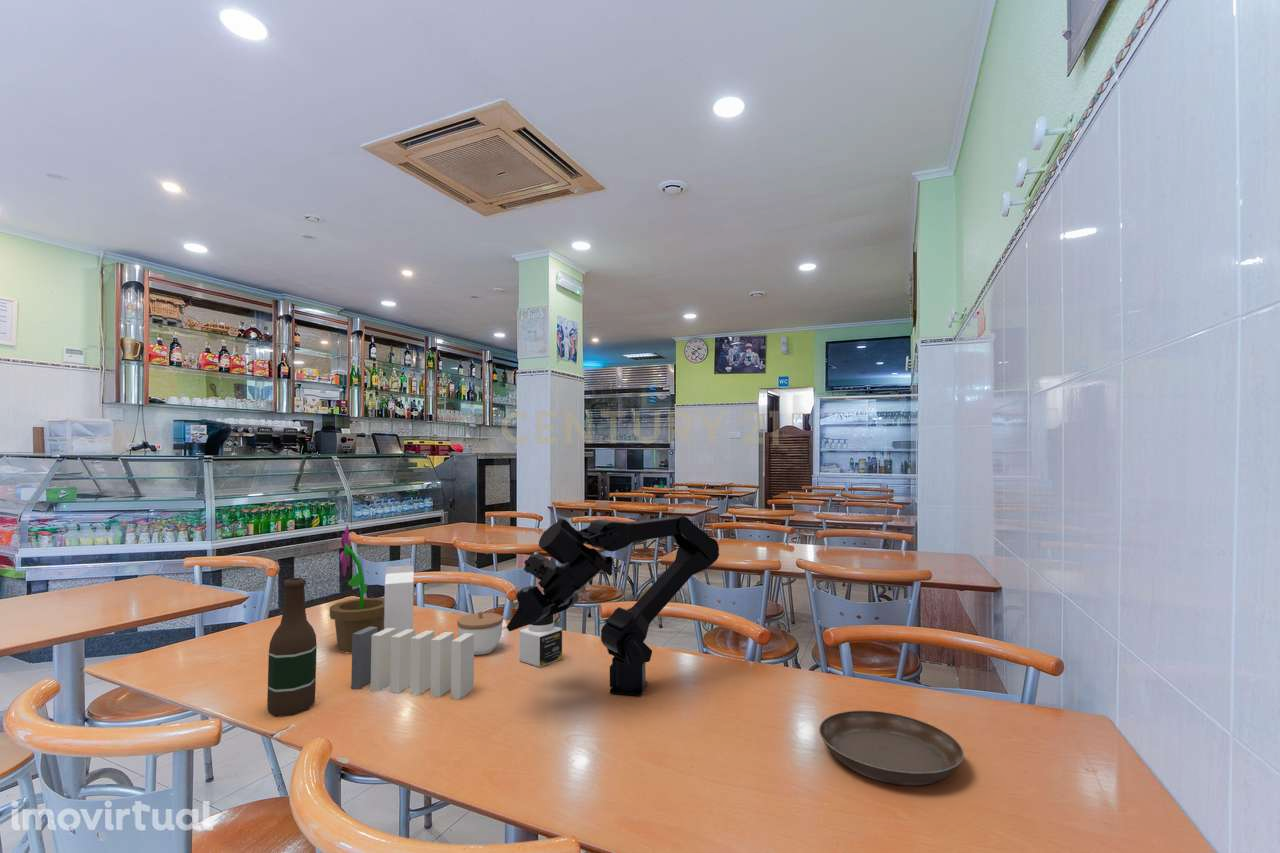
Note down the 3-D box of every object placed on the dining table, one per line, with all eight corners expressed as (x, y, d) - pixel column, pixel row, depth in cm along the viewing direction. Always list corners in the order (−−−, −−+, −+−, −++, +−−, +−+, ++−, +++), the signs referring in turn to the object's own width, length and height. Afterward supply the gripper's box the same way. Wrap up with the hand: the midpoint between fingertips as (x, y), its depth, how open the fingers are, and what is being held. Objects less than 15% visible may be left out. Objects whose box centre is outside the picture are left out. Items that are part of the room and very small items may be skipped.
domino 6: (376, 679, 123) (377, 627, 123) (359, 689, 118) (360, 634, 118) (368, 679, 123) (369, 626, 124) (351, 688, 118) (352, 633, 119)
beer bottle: (293, 719, 104) (296, 584, 106) (256, 715, 106) (260, 582, 107) (324, 701, 112) (327, 575, 113) (290, 698, 114) (293, 574, 115)
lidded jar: (454, 647, 144) (454, 609, 144) (497, 641, 148) (498, 604, 149) (460, 661, 134) (460, 620, 134) (506, 654, 138) (507, 614, 139)
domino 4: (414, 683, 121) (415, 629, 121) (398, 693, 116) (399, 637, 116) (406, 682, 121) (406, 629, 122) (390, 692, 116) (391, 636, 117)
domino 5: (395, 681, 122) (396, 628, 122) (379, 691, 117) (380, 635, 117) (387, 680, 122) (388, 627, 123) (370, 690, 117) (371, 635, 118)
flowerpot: (334, 640, 149) (337, 523, 151) (394, 635, 154) (396, 521, 155) (322, 658, 136) (325, 529, 137) (388, 652, 140) (390, 527, 142)
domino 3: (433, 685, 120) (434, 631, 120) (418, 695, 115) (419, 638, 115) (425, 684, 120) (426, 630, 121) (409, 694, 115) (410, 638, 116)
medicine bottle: (540, 668, 129) (540, 613, 130) (518, 661, 134) (518, 608, 134) (562, 659, 135) (562, 606, 136) (541, 652, 139) (541, 602, 140)
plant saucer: (846, 716, 105) (845, 698, 105) (976, 753, 92) (975, 731, 92) (798, 763, 89) (797, 741, 89) (947, 816, 76) (946, 789, 76)
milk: (384, 661, 134) (386, 565, 135) (412, 658, 136) (414, 563, 137) (383, 670, 128) (384, 569, 130) (412, 666, 130) (413, 567, 132)
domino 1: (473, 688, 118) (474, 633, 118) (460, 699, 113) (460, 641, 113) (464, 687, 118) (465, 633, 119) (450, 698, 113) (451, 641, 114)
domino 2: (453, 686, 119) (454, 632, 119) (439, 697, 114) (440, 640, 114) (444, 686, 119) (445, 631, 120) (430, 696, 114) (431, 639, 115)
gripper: (569, 539, 125) (518, 586, 126) (531, 544, 107) (471, 598, 108) (601, 581, 121) (547, 628, 123) (566, 592, 104) (505, 648, 105)
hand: (519, 624), depth 115 cm, fingers open, 9 cm apart
